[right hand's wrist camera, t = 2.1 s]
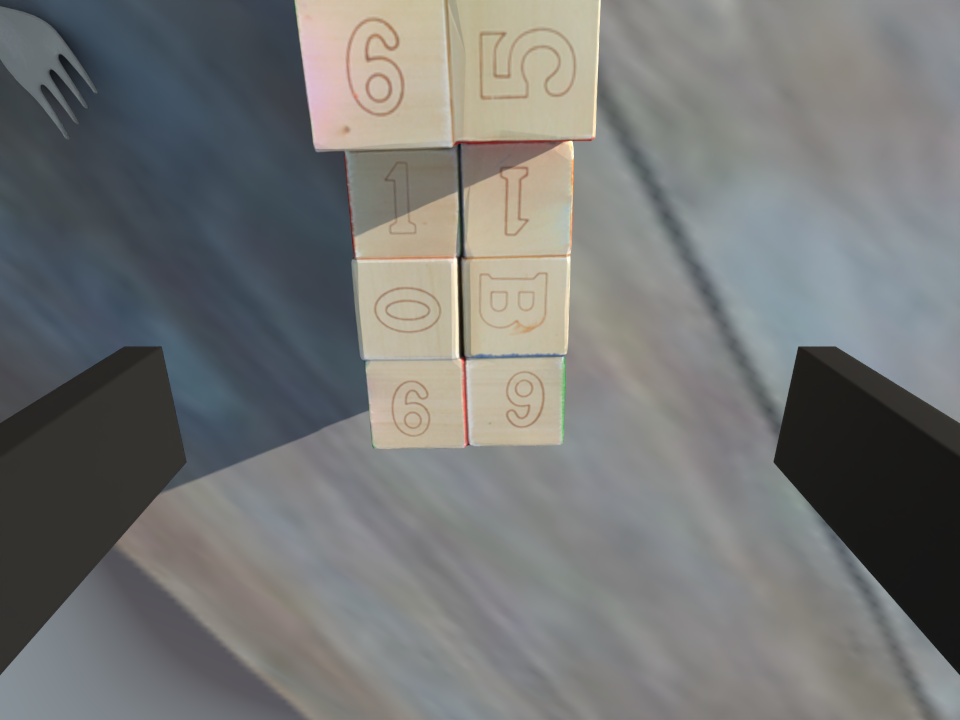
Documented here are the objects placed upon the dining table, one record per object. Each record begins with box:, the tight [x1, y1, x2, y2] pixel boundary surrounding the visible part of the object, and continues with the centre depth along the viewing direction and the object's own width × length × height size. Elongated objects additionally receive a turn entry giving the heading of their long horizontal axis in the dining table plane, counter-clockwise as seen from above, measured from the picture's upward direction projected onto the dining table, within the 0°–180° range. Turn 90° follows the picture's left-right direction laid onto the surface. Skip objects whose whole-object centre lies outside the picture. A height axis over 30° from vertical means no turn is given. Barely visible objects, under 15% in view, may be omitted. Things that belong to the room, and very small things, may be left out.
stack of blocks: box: [294, 0, 600, 449], centre depth 17 cm, size 21×6×12 cm, turn 1°
